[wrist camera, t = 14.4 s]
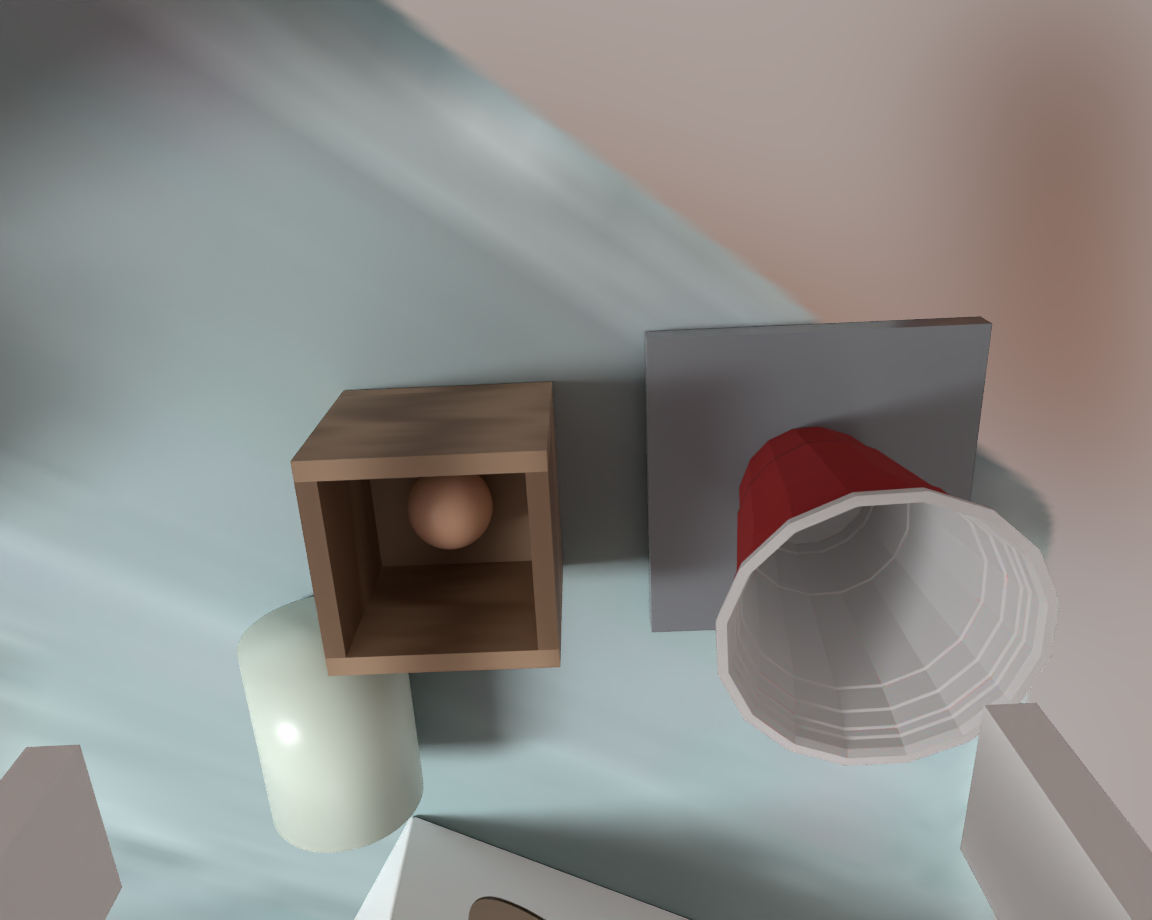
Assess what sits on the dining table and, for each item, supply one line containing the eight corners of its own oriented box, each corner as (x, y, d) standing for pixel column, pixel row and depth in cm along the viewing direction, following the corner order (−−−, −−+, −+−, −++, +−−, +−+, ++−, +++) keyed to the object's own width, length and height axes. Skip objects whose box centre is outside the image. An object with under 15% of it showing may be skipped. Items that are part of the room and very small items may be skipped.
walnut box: (370, 574, 43) (328, 676, 36) (343, 390, 40) (290, 461, 33) (562, 566, 43) (559, 667, 36) (552, 381, 40) (546, 450, 32)
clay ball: (418, 527, 42) (405, 566, 38) (409, 453, 40) (394, 486, 37) (499, 524, 42) (492, 563, 38) (492, 449, 40) (485, 482, 37)
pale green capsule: (435, 746, 47) (406, 852, 41) (299, 747, 48) (250, 853, 41) (415, 591, 44) (381, 680, 37) (269, 594, 44) (210, 683, 38)
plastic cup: (632, 536, 41) (653, 705, 30) (764, 326, 38) (842, 429, 27) (836, 634, 43) (925, 826, 32) (979, 443, 40) (1136, 585, 29)
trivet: (649, 618, 44) (651, 632, 43) (644, 331, 39) (646, 339, 38) (945, 606, 44) (955, 620, 43) (980, 316, 39) (992, 323, 38)
